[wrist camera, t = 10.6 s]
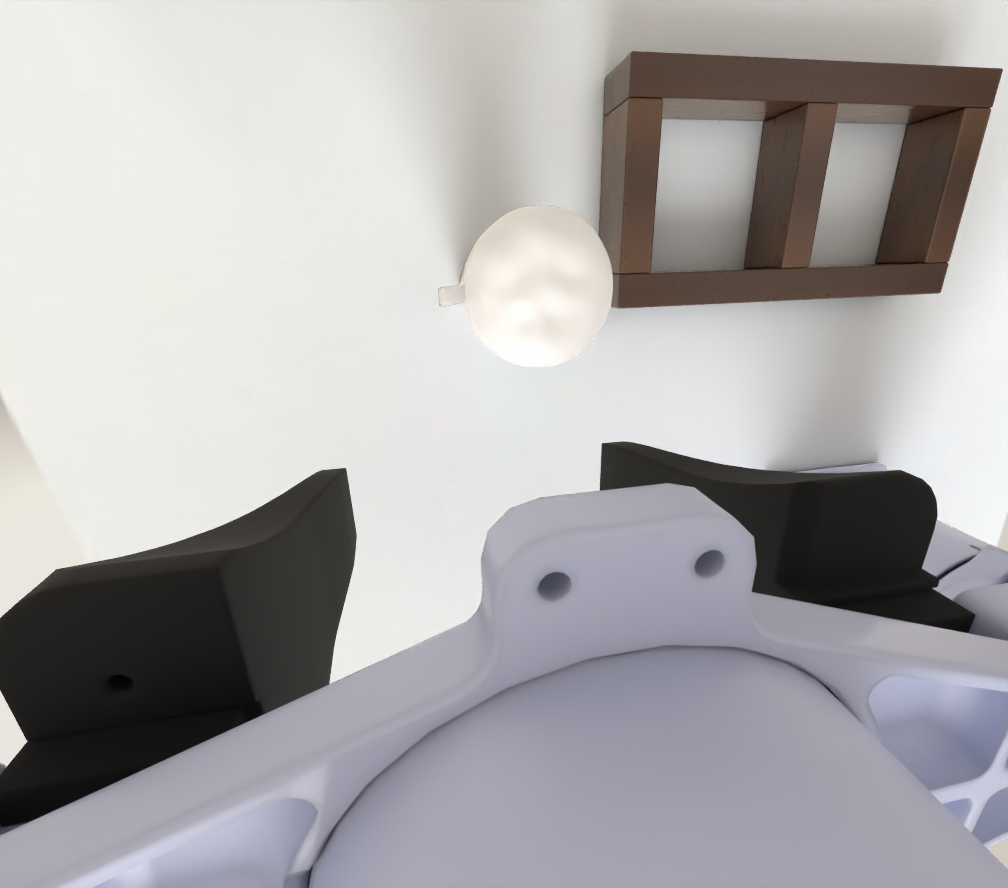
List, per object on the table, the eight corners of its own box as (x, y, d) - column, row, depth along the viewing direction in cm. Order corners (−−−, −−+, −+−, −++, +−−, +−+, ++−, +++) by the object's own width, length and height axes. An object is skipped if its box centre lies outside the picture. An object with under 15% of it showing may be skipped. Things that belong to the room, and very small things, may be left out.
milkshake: (422, 229, 20) (432, 193, 11) (544, 229, 21) (649, 196, 12) (429, 338, 22) (444, 386, 12) (542, 333, 23) (634, 376, 13)
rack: (890, 291, 25) (941, 293, 23) (596, 304, 23) (618, 308, 20) (939, 90, 22) (1004, 67, 20) (604, 77, 19) (631, 50, 17)
